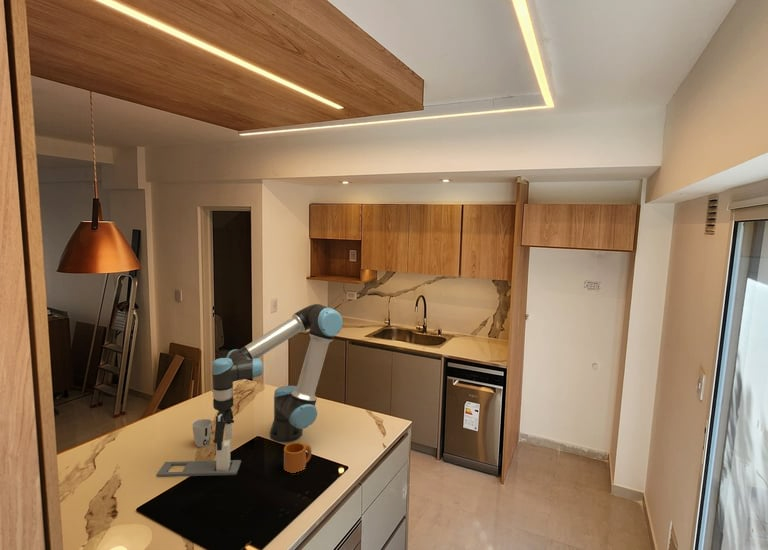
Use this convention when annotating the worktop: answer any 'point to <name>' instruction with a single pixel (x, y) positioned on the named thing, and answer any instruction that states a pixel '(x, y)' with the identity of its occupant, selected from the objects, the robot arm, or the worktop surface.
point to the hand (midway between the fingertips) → (224, 447)
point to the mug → (296, 457)
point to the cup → (202, 432)
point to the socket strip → (197, 468)
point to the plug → (224, 458)
